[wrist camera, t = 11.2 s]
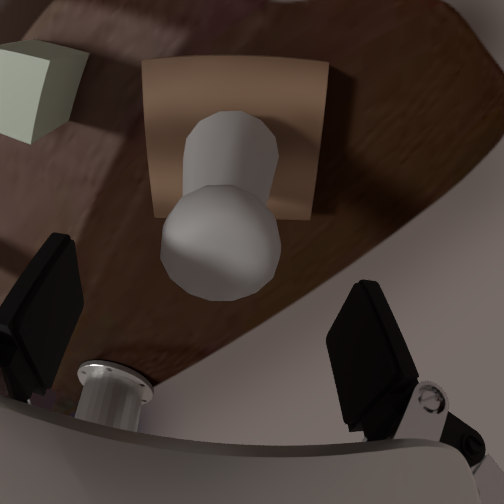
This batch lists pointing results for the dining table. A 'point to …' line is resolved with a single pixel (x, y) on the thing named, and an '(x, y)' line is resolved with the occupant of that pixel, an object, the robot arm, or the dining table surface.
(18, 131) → the sage cube
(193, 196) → the salt shaker
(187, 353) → the dining table surface
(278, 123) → the light wood flat block
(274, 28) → the dining table surface
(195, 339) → the dining table surface
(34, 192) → the dining table surface
